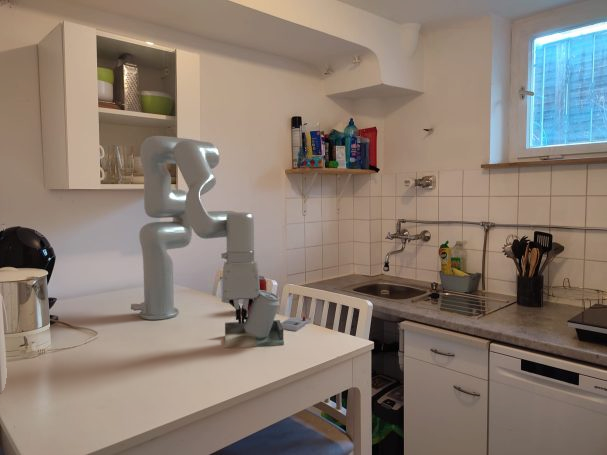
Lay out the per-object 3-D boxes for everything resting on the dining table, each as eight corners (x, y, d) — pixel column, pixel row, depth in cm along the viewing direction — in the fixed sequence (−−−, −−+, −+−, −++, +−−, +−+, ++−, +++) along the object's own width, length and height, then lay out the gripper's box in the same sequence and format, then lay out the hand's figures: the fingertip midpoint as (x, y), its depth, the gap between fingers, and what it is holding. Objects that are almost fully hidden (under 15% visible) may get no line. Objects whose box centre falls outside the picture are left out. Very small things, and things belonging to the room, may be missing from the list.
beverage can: (267, 308, 160) (267, 275, 159) (264, 313, 153) (264, 279, 152) (249, 308, 161) (249, 275, 160) (245, 313, 154) (245, 279, 153)
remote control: (273, 332, 136) (273, 322, 136) (296, 318, 150) (296, 310, 150) (293, 335, 133) (293, 325, 133) (314, 321, 147) (314, 312, 147)
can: (246, 337, 121) (261, 296, 120) (239, 325, 127) (253, 286, 126) (271, 341, 124) (285, 301, 123) (262, 329, 131) (276, 292, 130)
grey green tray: (225, 347, 120) (225, 333, 120) (225, 335, 130) (225, 322, 130) (283, 344, 123) (283, 330, 123) (279, 333, 133) (279, 320, 133)
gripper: (212, 259, 118) (213, 327, 120) (268, 258, 120) (269, 324, 122) (213, 255, 126) (214, 319, 127) (266, 254, 128) (267, 317, 129)
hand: (241, 322), depth 124 cm, fingers closed
